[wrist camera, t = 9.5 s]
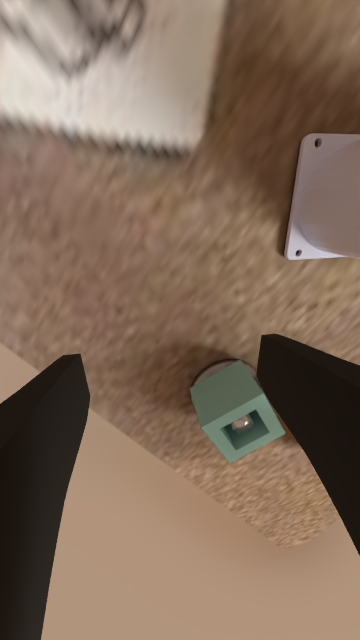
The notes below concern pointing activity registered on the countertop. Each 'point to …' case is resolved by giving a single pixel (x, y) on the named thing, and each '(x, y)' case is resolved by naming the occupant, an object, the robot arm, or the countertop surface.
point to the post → (245, 421)
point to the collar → (234, 411)
